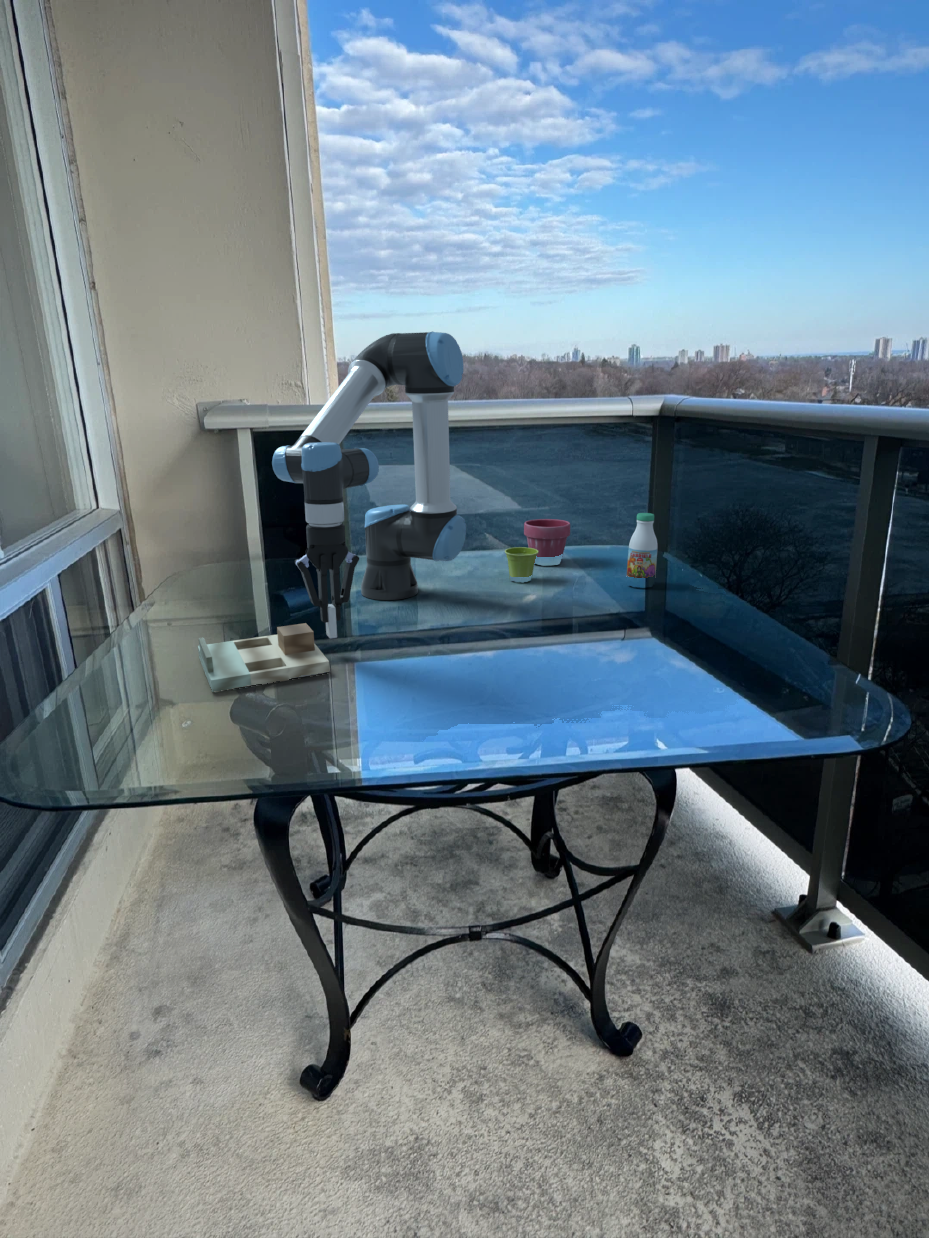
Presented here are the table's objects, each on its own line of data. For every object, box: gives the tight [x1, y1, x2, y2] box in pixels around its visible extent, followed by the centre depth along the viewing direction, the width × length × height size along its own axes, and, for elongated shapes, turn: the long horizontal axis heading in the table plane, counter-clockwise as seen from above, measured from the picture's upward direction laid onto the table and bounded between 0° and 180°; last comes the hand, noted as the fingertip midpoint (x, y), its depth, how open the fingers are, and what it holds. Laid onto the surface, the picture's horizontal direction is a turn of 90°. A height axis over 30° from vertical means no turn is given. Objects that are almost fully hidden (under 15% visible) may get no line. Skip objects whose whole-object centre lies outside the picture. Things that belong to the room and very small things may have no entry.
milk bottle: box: [626, 512, 658, 578], centre depth 201 cm, size 8×8×20 cm
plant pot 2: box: [523, 518, 571, 557], centre depth 226 cm, size 14×14×13 cm
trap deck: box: [197, 634, 331, 693], centre depth 147 cm, size 22×20×6 cm
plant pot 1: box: [504, 546, 538, 577], centre depth 207 cm, size 9×9×9 cm
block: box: [276, 622, 315, 655], centre depth 149 cm, size 6×6×4 cm
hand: (331, 635), depth 152 cm, fingers closed
